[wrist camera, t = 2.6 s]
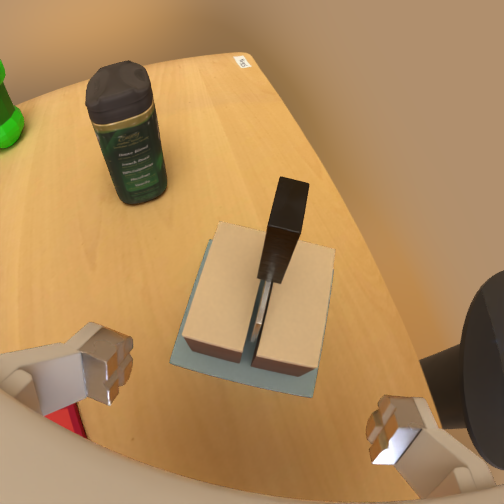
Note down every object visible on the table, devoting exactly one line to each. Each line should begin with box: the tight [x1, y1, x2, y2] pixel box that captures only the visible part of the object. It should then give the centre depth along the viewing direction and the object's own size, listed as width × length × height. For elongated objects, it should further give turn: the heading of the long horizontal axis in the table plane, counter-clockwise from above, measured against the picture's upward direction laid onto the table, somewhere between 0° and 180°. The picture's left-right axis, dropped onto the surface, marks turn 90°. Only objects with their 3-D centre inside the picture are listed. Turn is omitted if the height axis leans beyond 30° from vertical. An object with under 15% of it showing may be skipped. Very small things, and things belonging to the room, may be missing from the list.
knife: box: [250, 177, 309, 342], centre depth 23 cm, size 10×2×13 cm, turn 167°
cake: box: [169, 221, 335, 398], centre depth 33 cm, size 16×16×9 cm
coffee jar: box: [85, 61, 167, 204], centre depth 37 cm, size 10×8×19 cm
